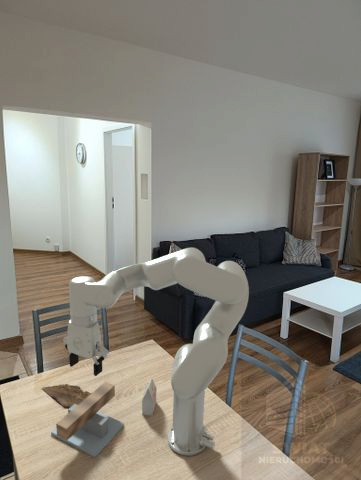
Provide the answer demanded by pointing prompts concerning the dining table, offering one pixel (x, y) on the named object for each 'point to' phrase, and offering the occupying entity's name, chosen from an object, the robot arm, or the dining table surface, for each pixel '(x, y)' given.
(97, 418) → the ridge stand
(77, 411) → the walnut bar
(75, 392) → the wooden fragment
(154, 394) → the grey pointed block
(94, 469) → the dining table surface
